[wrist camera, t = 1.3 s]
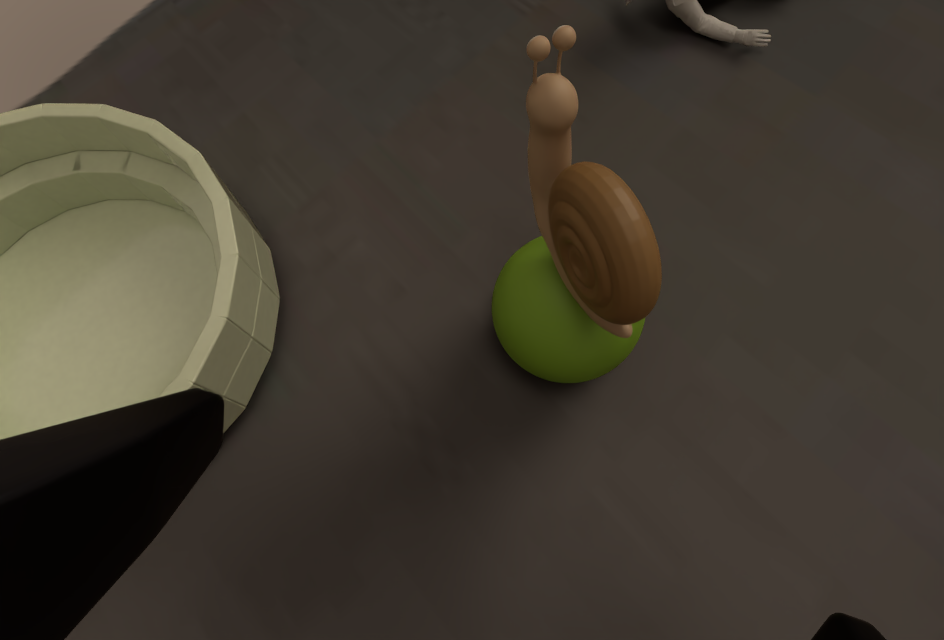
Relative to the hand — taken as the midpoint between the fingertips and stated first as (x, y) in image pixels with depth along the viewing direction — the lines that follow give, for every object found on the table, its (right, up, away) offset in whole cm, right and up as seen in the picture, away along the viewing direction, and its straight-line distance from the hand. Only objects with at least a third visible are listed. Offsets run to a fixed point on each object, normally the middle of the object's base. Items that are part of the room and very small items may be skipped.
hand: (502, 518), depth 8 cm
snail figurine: (+3, +3, +15) cm, 16 cm away
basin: (-15, +2, +15) cm, 22 cm away
